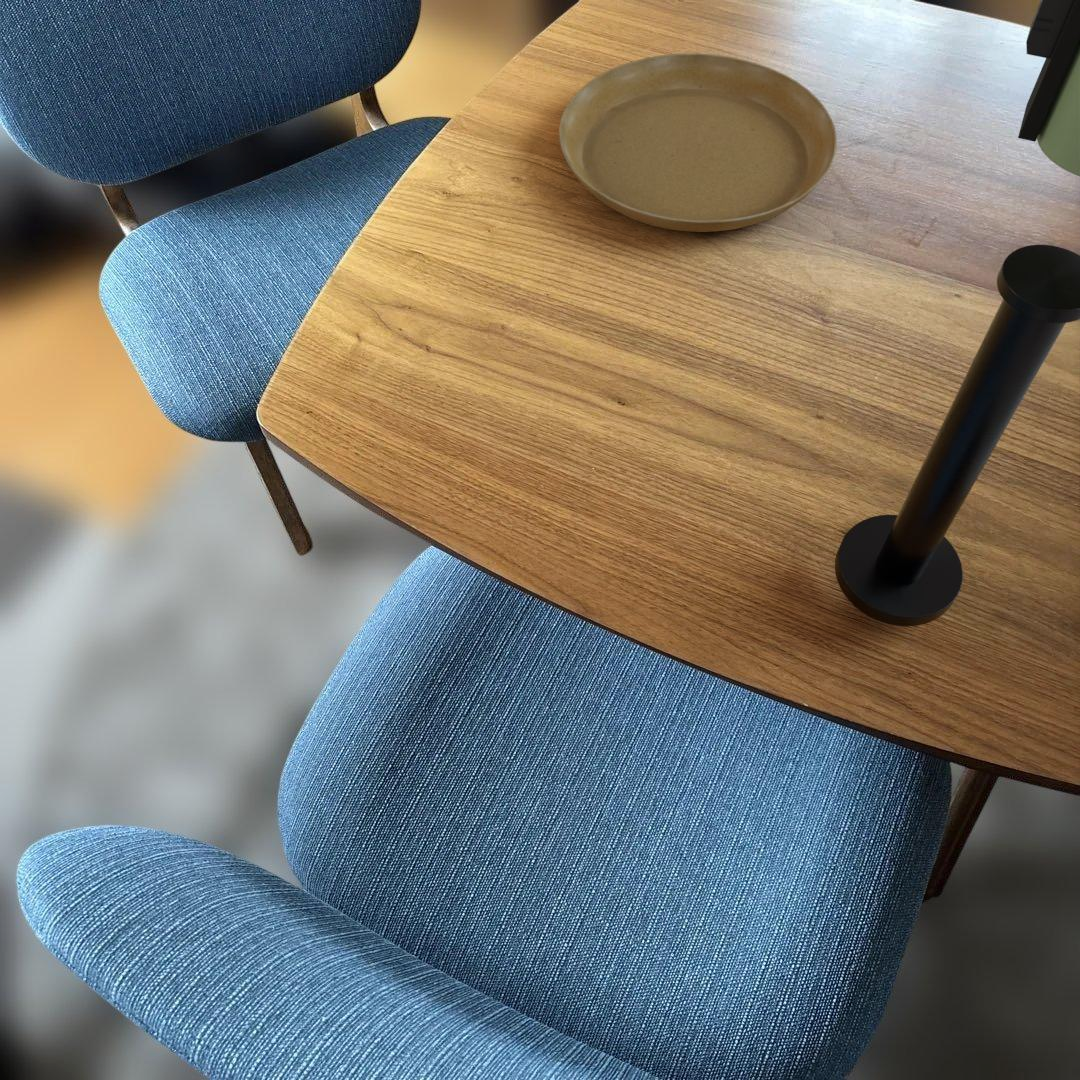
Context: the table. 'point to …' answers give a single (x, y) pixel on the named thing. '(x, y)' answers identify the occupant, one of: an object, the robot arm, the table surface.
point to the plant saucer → (697, 141)
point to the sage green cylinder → (1064, 121)
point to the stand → (961, 448)
